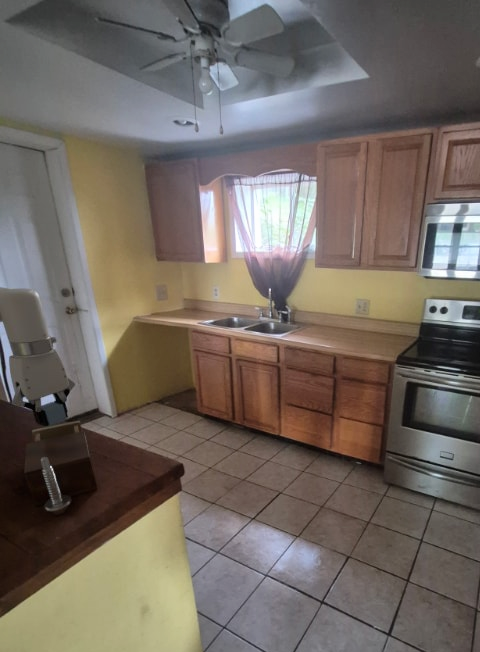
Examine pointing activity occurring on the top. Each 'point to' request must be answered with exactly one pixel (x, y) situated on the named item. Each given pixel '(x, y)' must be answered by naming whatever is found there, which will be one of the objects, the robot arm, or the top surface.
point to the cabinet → (60, 466)
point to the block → (54, 413)
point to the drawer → (56, 431)
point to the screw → (54, 491)
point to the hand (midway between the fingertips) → (53, 420)
